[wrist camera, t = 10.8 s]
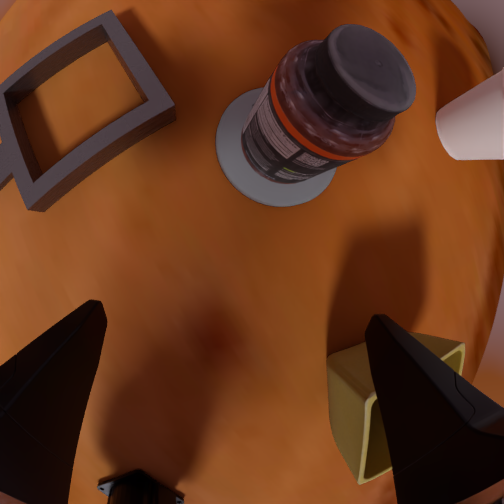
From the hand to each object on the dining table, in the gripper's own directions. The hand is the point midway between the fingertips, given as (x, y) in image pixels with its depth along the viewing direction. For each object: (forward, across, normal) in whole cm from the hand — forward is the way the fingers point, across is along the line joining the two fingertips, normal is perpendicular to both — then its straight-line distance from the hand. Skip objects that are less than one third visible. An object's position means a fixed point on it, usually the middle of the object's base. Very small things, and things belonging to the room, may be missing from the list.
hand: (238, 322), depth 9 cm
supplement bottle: (+14, -2, -3) cm, 14 cm away
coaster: (+14, -2, -3) cm, 15 cm away
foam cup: (+21, -23, -7) cm, 32 cm away
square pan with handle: (+12, +16, -4) cm, 20 cm away
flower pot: (+7, -10, +13) cm, 18 cm away
